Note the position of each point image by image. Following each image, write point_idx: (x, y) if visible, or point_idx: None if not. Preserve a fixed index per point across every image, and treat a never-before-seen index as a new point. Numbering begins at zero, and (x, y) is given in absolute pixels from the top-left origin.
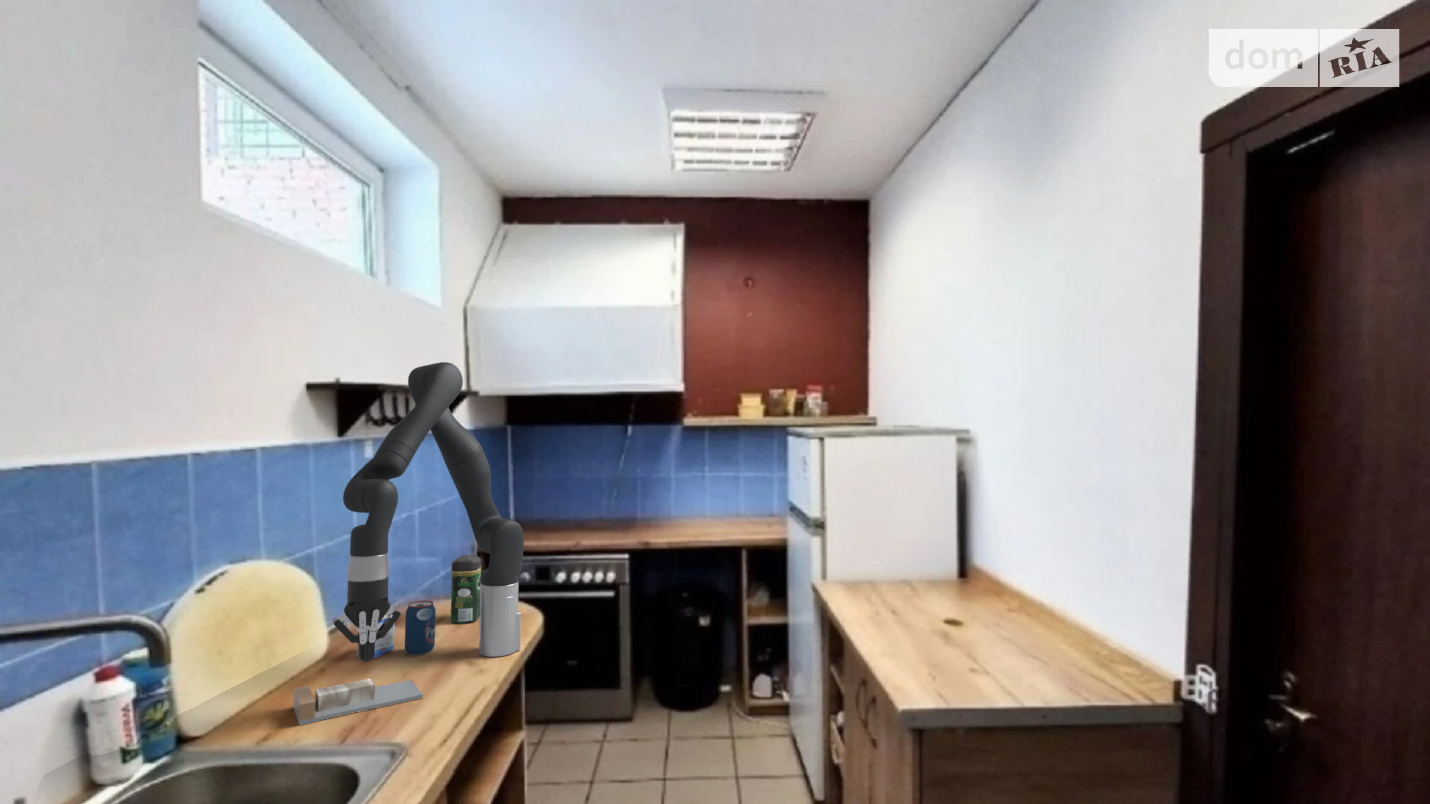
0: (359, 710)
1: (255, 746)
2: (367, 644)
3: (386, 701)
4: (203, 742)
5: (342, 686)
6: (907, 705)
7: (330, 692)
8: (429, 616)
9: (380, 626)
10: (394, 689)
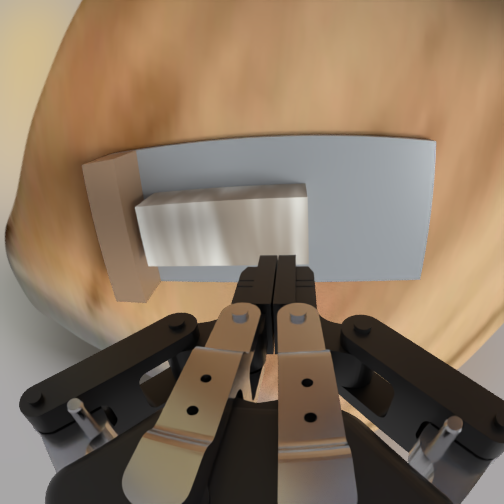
0: None
1: (90, 317)
2: (273, 351)
3: (330, 277)
4: (20, 253)
5: (209, 225)
6: None
7: (176, 258)
8: None
9: (375, 357)
10: (375, 196)
